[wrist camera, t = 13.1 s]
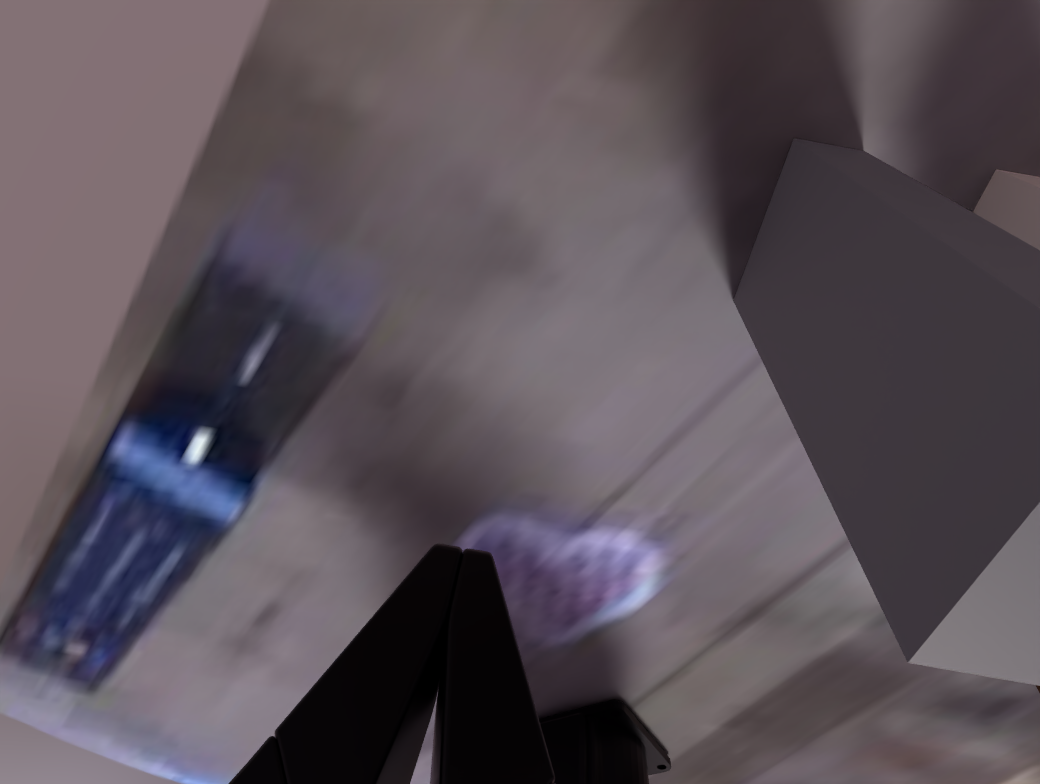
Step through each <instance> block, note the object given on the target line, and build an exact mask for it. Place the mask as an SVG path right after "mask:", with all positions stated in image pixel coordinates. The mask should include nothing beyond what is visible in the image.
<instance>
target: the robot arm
mask: <svg viewBox="0 0 1040 784" xmlns="http://www.w3.org/2000/svg"><path fill="white" fill-rule="evenodd" d="M438 688H439V689H438ZM437 692H438V697H437ZM436 697H437V705H436V714H435V725H434V739H433V752H432V765H431V778H430V784H649V779H648V775H652V774H657V773H662V772H666V771H669V770H670V769H671V762H670V758H669V757H668V755H667V754H666V753H665V752H664V751H663V750H662V748H661V747H660V746H659V745H658V744H657V742H656V741H655V740H654V739H653V738H652V736H651V735H650V734H649V733H648V732H647V731H646V729H645V728H644V727H643V726H642V725H641V723H640V722H639V721H638V720H637V719H636V717H635V716H634V715H633V714H632V713H631V712H630V710H629V709H628V708H627V707H626V706H625V704H624V703H622V702H620V701H617V700H612V701H608V702H604V703H600V704H596V705H592V706H588V707H585V708H581V709H577V710H573V711H569V712H565V713H561V714H558V715H554V716H550V717H546V718H542V719H539V718H538V715H537V711H536V708H535V704H534V701H533V697H532V694H531V690H530V687H529V683H528V679H527V676H526V672H525V669H524V665H523V662H522V658H521V655H520V651H519V647H518V644H517V640H516V637H515V633H514V630H513V626H512V623H511V619H510V616H509V612H508V608H507V605H506V601H505V598H504V594H503V591H502V587H501V584H500V580H499V576H498V573H497V569H496V566H495V562H494V559H493V556H492V555H491V553H489V552H486V551H480V550H474V549H465V550H464V551H462V549H461V548H460V547H456V546H450V545H444V544H435V545H434V546H433V547H432V548H431V549H430V550H429V551H428V552H427V553H426V554H425V556H424V557H423V558H422V559H421V560H420V562H419V563H418V564H417V565H416V566H415V567H414V569H413V570H412V571H411V572H410V573H409V574H408V576H407V577H406V578H405V579H404V580H403V581H402V583H401V584H400V585H399V586H398V587H397V588H396V590H395V591H394V592H393V593H392V594H391V595H390V597H389V598H388V599H387V600H386V601H385V603H384V604H383V605H382V606H381V607H380V608H379V610H378V611H377V612H376V613H375V614H374V615H373V617H372V618H371V619H370V620H369V621H368V622H367V624H366V625H365V626H364V627H363V628H362V629H361V631H360V632H359V633H358V634H357V635H356V636H355V638H354V639H353V640H352V641H351V642H350V644H349V645H348V646H347V647H346V648H345V649H344V651H343V652H342V653H341V654H340V655H339V656H338V658H337V659H336V660H335V661H334V662H333V663H332V665H331V666H330V667H329V668H328V669H327V670H326V672H325V673H324V674H323V675H322V676H321V677H320V679H319V680H318V681H317V682H316V683H315V685H314V686H313V687H312V688H311V689H310V690H309V692H308V693H307V694H306V695H305V696H304V697H303V699H302V700H301V701H300V702H299V703H298V704H297V706H296V707H295V708H294V709H293V710H292V711H291V713H290V714H289V715H288V716H287V717H286V718H285V720H284V721H283V722H282V723H281V724H280V726H279V727H278V728H277V729H276V730H275V737H274V736H270V737H269V738H268V739H267V740H266V741H265V743H264V744H263V745H262V746H261V747H260V749H259V750H258V751H257V752H256V753H255V754H254V756H253V757H252V758H251V759H250V760H249V761H248V763H247V764H246V765H245V766H244V767H243V768H242V769H241V770H240V771H239V773H238V774H237V775H236V776H235V777H234V778H233V779H232V780H231V781H230V783H229V784H410V782H411V778H412V775H413V772H414V769H415V766H416V763H417V760H418V756H419V753H420V750H421V747H422V744H423V741H424V738H425V734H426V731H427V728H428V725H429V722H430V719H431V715H432V712H433V708H434V705H435V701H436Z"/></svg>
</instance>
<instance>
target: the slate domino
mask: <svg viewBox="0 0 1040 784" xmlns="http://www.w3.org/2000/svg"><path fill="white" fill-rule="evenodd" d="M733 301H734V303H735V305H736V307H737V309H738V312H739V314H740V316H741V318H742V320H743V322H744V324H745V326H746V328H747V330H748V332H749V334H750V336H751V338H752V341H753V343H754V345H755V347H756V349H757V351H758V353H759V355H760V357H761V359H762V361H763V363H764V365H765V367H766V370H767V372H768V374H769V376H770V378H771V380H772V382H773V384H774V386H775V388H776V390H777V392H778V394H779V396H780V399H781V401H782V403H783V405H784V407H785V409H786V411H787V413H788V415H789V417H790V419H791V421H792V423H793V426H794V428H795V430H796V432H797V434H798V436H799V438H800V440H801V442H802V444H803V446H804V448H805V450H806V452H807V455H808V457H809V459H810V461H811V463H812V465H813V467H814V469H815V471H816V473H817V475H818V477H819V479H820V481H821V484H822V486H823V488H824V490H825V492H826V494H827V496H828V498H829V500H830V502H831V504H832V506H833V508H834V510H835V513H836V515H837V517H838V519H839V521H840V523H841V525H842V527H843V529H844V531H845V533H846V535H847V537H848V540H849V542H850V544H851V546H852V548H853V550H854V552H855V554H856V556H857V558H858V560H859V562H860V564H861V566H862V569H863V571H864V573H865V575H866V577H867V579H868V581H869V583H870V585H871V587H872V589H873V591H874V593H875V595H876V598H877V600H878V602H879V604H880V606H881V608H882V610H883V612H884V614H885V616H886V618H887V620H888V622H889V624H890V627H891V629H892V631H893V633H894V635H895V637H896V639H897V641H898V643H899V645H900V647H901V649H902V651H903V654H904V656H905V658H906V660H907V662H908V663H913V664H918V665H924V666H930V667H935V668H941V669H947V670H952V671H958V672H964V673H969V674H975V675H981V676H986V677H992V678H998V679H1003V680H1009V681H1015V682H1020V683H1026V684H1032V685H1038V686H1040V250H1038V249H1037V248H1035V247H1033V246H1031V245H1029V244H1028V243H1026V242H1024V241H1022V240H1021V239H1019V238H1017V237H1015V236H1014V235H1012V234H1010V233H1008V232H1006V231H1005V230H1003V229H1001V228H999V227H998V226H996V225H994V224H992V223H991V222H989V221H987V220H985V219H983V218H982V217H980V216H978V215H976V214H975V213H973V212H971V211H969V210H968V209H966V208H964V207H962V206H960V205H959V204H957V203H955V202H953V201H952V200H950V199H948V198H946V197H945V196H943V195H941V194H939V193H937V192H936V191H934V190H932V189H930V188H929V187H927V186H925V185H923V184H922V183H920V182H918V181H916V180H914V179H913V178H911V177H909V176H907V175H906V174H904V173H902V172H900V171H899V170H897V169H895V168H893V167H891V166H890V165H888V164H886V163H884V162H883V161H881V160H879V159H877V158H876V157H874V156H872V155H870V154H868V153H867V152H865V151H862V150H856V149H851V148H845V147H840V146H834V145H829V144H824V143H818V142H813V141H807V140H802V139H796V138H794V139H793V141H792V144H791V147H790V149H789V152H788V155H787V157H786V160H785V163H784V166H783V168H782V171H781V174H780V176H779V179H778V182H777V184H776V187H775V190H774V192H773V195H772V198H771V200H770V203H769V206H768V208H767V211H766V214H765V217H764V219H763V222H762V225H761V227H760V230H759V233H758V235H757V238H756V241H755V243H754V246H753V249H752V251H751V254H750V257H749V259H748V262H747V265H746V268H745V270H744V273H743V276H742V278H741V281H740V284H739V286H738V289H737V292H736V294H735V297H734V300H733Z"/></svg>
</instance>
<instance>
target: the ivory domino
mask: <svg viewBox="0 0 1040 784" xmlns="http://www.w3.org/2000/svg"><path fill="white" fill-rule="evenodd" d="M973 213H975V214H976V215H978V216H980V217H982V218H983V219H985V220H987V221H989V222H991V223H992V224H994V225H996V226H998V227H999V228H1001V229H1003V230H1005V231H1006V232H1008V233H1010V234H1012V235H1014V236H1015V237H1017V238H1019V239H1021V240H1022V241H1024V242H1026V243H1028V244H1029V245H1031V246H1033V247H1035V248H1037V249H1038V250H1040V177H1037V176H1032V175H1026V174H1020V173H1015V172H1009V171H1003V170H997V169H996V170H995V172H994V174H993V176H992V178H991V179H990V181H989V183H988V185H987V187H986V189H985V190H984V192H983V194H982V196H981V198H980V200H979V201H978V203H977V205H976V207H975V209H974V211H973Z"/></svg>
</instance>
